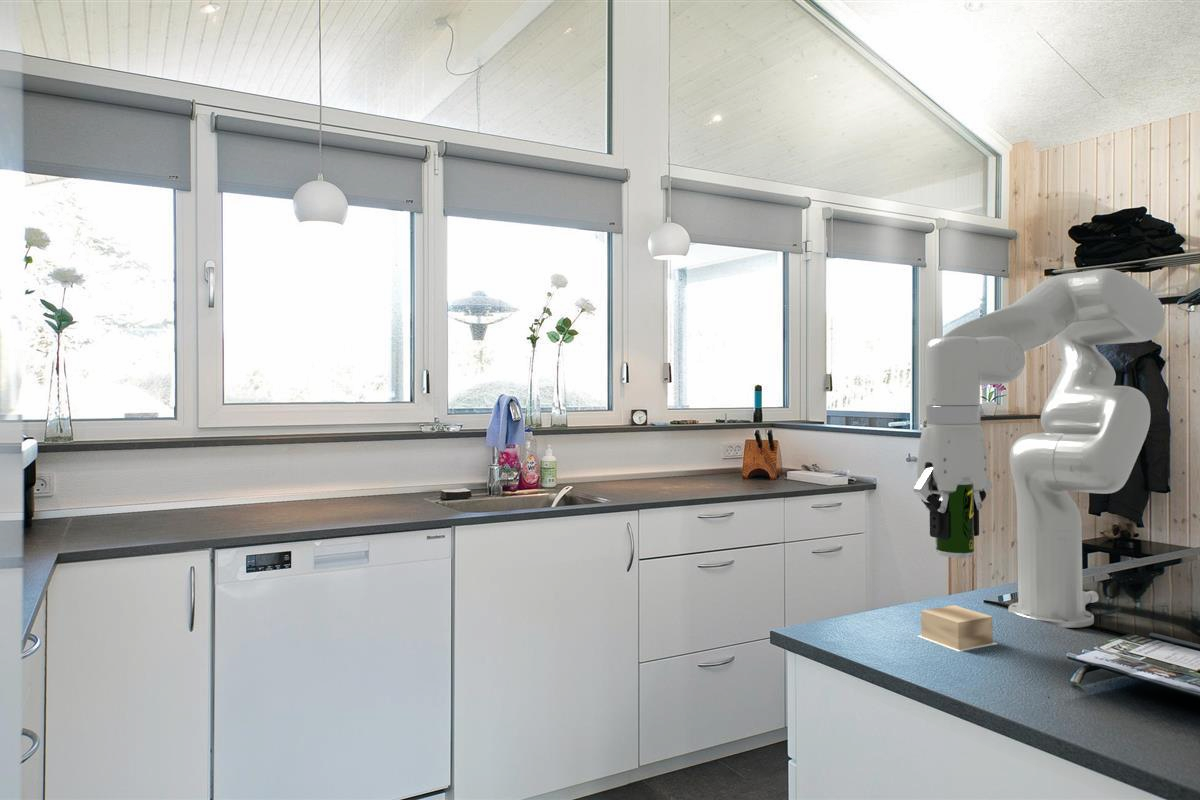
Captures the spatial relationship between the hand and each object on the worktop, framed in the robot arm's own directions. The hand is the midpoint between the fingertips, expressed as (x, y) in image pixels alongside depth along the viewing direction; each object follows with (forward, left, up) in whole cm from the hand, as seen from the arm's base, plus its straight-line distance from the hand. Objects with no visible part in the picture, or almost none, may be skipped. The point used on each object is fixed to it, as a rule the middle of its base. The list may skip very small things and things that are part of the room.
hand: (954, 535), depth 117 cm
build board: (0, 0, -17) cm, 17 cm away
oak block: (0, 0, -16) cm, 16 cm away
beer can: (0, 0, -3) cm, 3 cm away
